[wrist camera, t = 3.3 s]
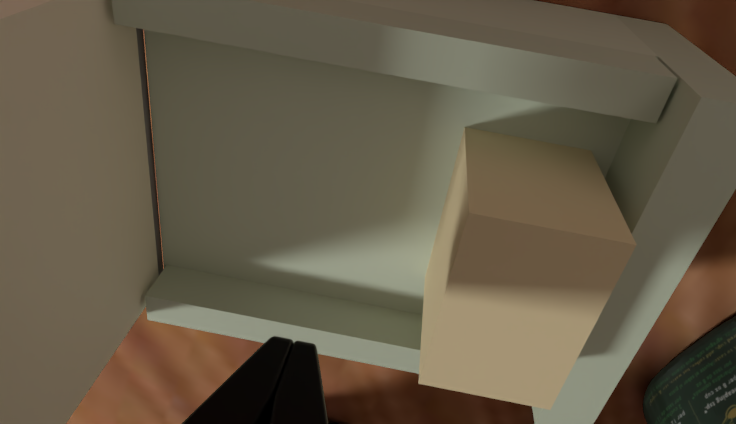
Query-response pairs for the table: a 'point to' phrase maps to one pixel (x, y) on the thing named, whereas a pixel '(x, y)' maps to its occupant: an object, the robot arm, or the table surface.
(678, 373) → the coffee jar
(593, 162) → the block
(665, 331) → the table surface
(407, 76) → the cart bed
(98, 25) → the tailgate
